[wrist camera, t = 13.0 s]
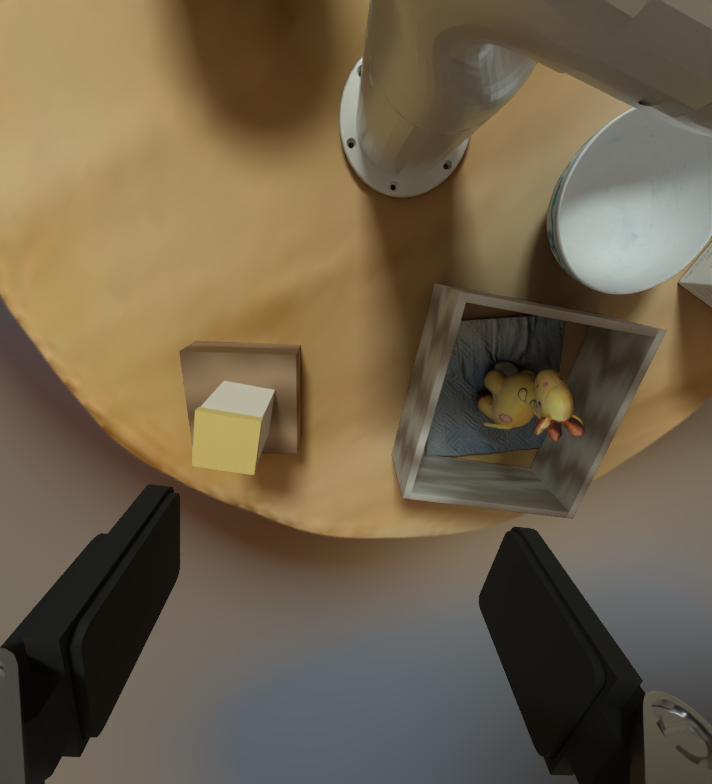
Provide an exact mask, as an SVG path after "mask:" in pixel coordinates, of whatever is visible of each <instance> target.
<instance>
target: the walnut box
mask: <svg viewBox="0 0 712 784" xmlns="http://www.w3.org/2000/svg"><path fill="white" fill-rule="evenodd" d="M179 352H180V359H181V366H182V374H183V381H184V388H185V396H186V403H187V410H188V417H189V425H190V432H191V439H192V447H193V435H194V417H195V410H196V409H197V408H198V407H201V406H202V405H203V403H204V402H205V401H206V400H207V399H208V398H209V397H210V396H211V394H212V393H213V392H214V391H215V390H216V389H217V388H218V387H219V386H220V384H221V383H222V382H223V381H228V382H234V383H239V384H245V385H251V386H256V387H262V388H267V389H273V390H275V394H274V401H273V408H272V415H271V422H270V429H269V435H268V437H267V440H266V442H265V445H264V448H263V450H262V453H287V454H297V452H298V448H299V443H300V438H301V362H300V345H289V344H262V343H235V342H208V341H195V342H194V343H192V344H190V345H189V346H187V347H186V348H184V349H182V350H181V351H179Z"/></svg>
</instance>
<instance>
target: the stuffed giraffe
mask: <svg viewBox="0 0 712 784" xmlns="http://www.w3.org/2000/svg"><path fill="white" fill-rule="evenodd" d="M564 325H565V321H564V320H559V319H553V318H548V317H543V316H537V315H535V316H529V317H510V318H498V319H482V320H469V321H461V322H460V325H459V329H458V332H457V336H456V339H455V342H454V346H453V349H452V353H451V356H450V360H449V363H448V367H447V370H446V374H445V377H444V381H443V384H442V388H441V391H440V395H439V398H438V402H437V405H436V409H435V412H434V416H433V419H432V423H431V426H430V430H429V433H428V437H427V456H433V455H434V456H438V455H439V456H460V455H467V454H485V453H494V452H505V451H513V450H515V449H530V448H542V445H543V443H544V441H545V439H546V437H547V433H548V435H549V436H550V438H551V439H552V440H554V441H559V439H560V438H561V436H562V428H561V427H562V425H563V424H564V425H565V427H566V428H567V430H568V432H569V433H570V434H572V435H574V436H577V437H578V436H582V435H584V433H585V427H584V424H583V421H582V420H581V419H580V418H579V417H577V416H576V415H573V408H574V406H573V397H572V394H571V392H570V390H569V388H568V385H567V383H566V381H565V379H564V378H563V377H562V375H560V374H559V364H560V360H561V351H562V345H563V334H564Z"/></svg>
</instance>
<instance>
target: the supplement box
mask: <svg viewBox="0 0 712 784" xmlns="http://www.w3.org/2000/svg"><path fill="white" fill-rule="evenodd" d="M679 284H680V285H681V286H682V287H684V288H685V289H687V290H688V291H689V292H691V293H692V294H693V295H695V296H696V297H698V298H699V299H700V300H702V301H703V302H705V303H706V304H707V305H709V306H710V307H711V308H712V242H711V244H710V245H709V246H708V247H707V248H706V250H705V251H704V252H703V253H702V254H701V255H700V257H699V258H698V259H697V260H696V261H695V263H694V264H693V265H692V266H691V267H690V269H689V270H688V271H687V272H686V273H685V274H684V276H683V277H682V278H681V279H680V281H679Z"/></svg>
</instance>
